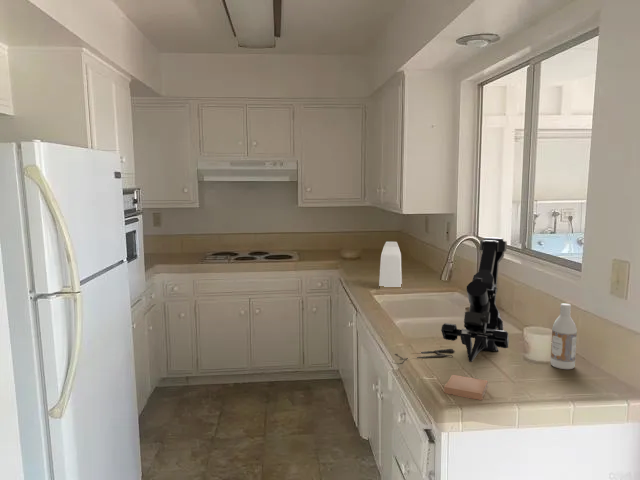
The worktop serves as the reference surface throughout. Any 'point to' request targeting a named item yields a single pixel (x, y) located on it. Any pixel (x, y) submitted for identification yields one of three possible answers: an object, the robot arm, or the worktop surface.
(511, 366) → the worktop surface
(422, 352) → the hacksaw
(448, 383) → the tile
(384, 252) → the milk
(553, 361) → the bath foam
